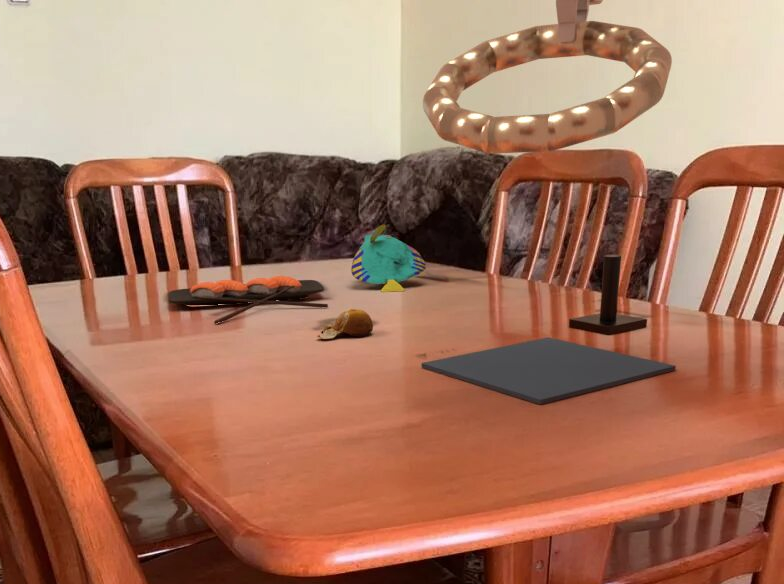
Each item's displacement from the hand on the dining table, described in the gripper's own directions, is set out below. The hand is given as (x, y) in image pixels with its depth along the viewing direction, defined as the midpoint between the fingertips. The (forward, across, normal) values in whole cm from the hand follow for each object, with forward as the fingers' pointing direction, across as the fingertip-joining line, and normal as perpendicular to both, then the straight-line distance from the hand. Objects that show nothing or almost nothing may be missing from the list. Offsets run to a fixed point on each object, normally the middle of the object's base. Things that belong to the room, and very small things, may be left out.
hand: (570, 44), depth 91 cm
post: (+35, +23, -4) cm, 42 cm away
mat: (+35, -4, 0) cm, 35 cm away
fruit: (+36, +10, +34) cm, 51 cm away
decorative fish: (+36, +57, +45) cm, 80 cm away
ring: (+4, -10, +1) cm, 10 cm away
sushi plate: (+36, +29, +62) cm, 77 cm away
